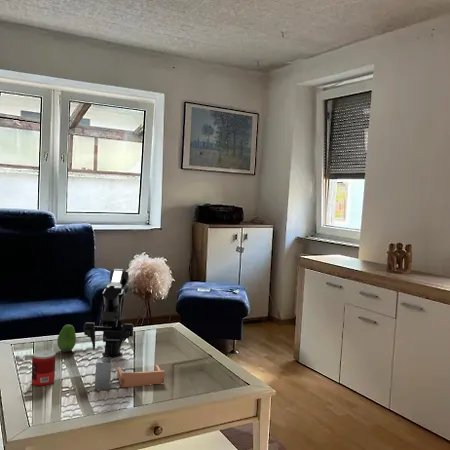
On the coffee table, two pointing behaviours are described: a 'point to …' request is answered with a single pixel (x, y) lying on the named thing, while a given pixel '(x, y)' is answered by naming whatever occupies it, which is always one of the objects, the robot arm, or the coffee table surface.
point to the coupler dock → (140, 377)
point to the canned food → (43, 368)
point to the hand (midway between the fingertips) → (106, 349)
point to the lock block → (103, 373)
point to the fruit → (67, 338)
